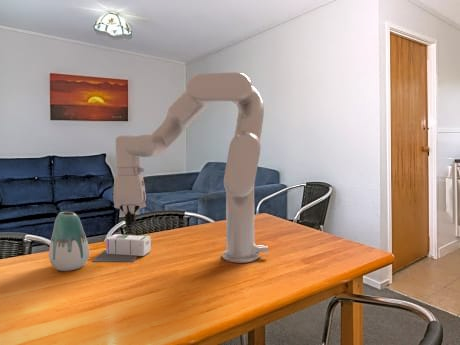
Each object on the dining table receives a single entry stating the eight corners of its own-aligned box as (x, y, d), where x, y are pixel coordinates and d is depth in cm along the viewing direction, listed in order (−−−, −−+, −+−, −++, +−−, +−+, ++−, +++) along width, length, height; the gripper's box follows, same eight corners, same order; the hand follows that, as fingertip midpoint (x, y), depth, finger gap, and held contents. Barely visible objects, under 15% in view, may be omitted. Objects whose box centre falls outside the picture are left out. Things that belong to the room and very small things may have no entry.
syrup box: (143, 240, 115) (105, 237, 119) (143, 257, 116) (105, 253, 119) (150, 235, 121) (114, 233, 124) (151, 251, 122) (114, 248, 125)
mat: (142, 250, 123) (142, 249, 123) (134, 261, 112) (133, 260, 112) (104, 250, 123) (104, 249, 123) (92, 261, 113) (92, 260, 112)
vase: (97, 262, 112) (95, 209, 110) (70, 276, 101) (67, 217, 99) (70, 259, 115) (66, 207, 113) (41, 271, 104) (37, 215, 103)
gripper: (152, 170, 119) (154, 221, 121) (110, 171, 119) (113, 221, 121) (147, 172, 111) (149, 227, 113) (102, 173, 112) (105, 227, 114)
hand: (130, 224), depth 117 cm, fingers closed
